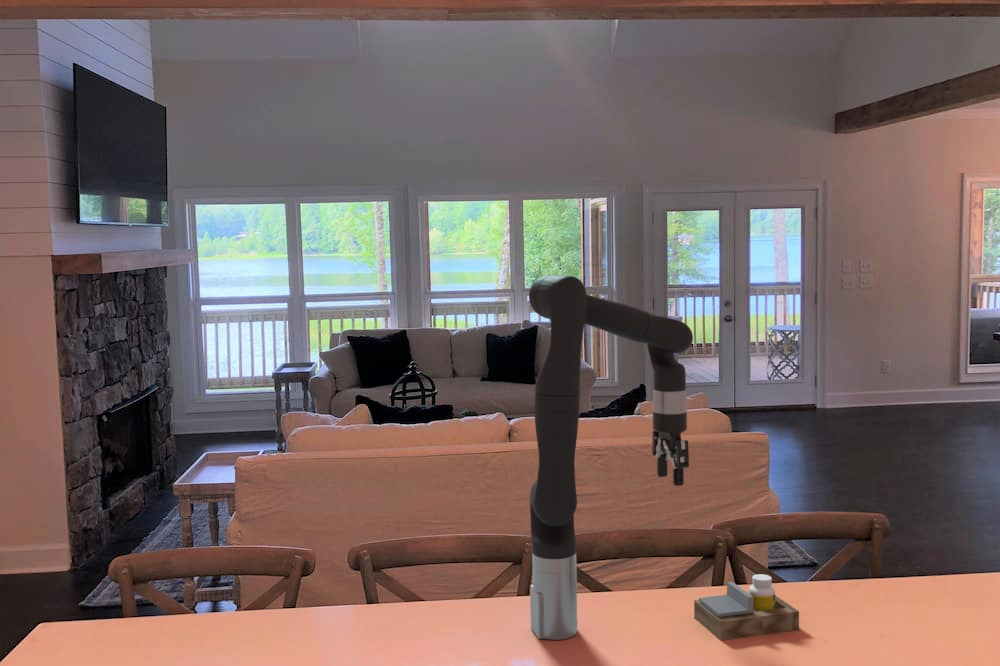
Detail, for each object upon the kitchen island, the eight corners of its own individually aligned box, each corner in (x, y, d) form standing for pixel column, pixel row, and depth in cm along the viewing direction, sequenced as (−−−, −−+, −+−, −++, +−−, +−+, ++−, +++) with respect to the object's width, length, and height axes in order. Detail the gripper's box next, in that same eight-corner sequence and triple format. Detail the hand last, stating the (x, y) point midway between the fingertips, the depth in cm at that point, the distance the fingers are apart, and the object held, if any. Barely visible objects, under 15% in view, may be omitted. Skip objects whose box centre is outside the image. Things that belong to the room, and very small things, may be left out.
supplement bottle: (778, 626, 193) (778, 581, 192) (752, 626, 193) (752, 581, 192) (771, 616, 198) (771, 572, 197) (746, 616, 198) (745, 573, 197)
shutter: (718, 617, 187) (718, 600, 187) (699, 601, 196) (699, 585, 196) (753, 612, 189) (754, 596, 189) (732, 597, 198) (732, 581, 198)
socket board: (720, 640, 186) (720, 621, 186) (694, 617, 198) (694, 600, 198) (798, 629, 191) (799, 611, 190) (768, 608, 202) (768, 591, 202)
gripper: (699, 413, 197) (699, 487, 199) (671, 403, 211) (672, 472, 213) (667, 416, 196) (667, 490, 197) (641, 405, 209) (642, 474, 211)
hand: (670, 480), depth 205 cm, fingers open, 8 cm apart
